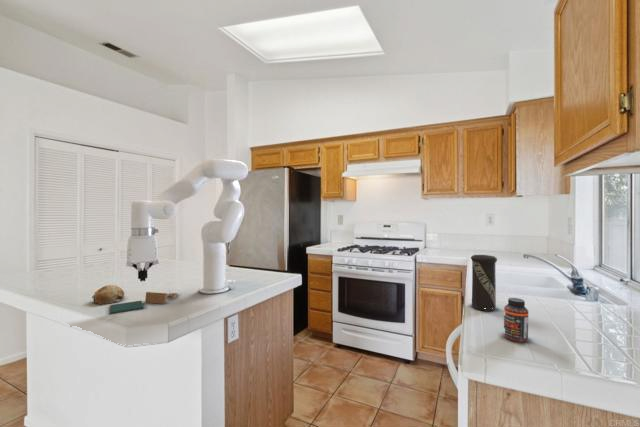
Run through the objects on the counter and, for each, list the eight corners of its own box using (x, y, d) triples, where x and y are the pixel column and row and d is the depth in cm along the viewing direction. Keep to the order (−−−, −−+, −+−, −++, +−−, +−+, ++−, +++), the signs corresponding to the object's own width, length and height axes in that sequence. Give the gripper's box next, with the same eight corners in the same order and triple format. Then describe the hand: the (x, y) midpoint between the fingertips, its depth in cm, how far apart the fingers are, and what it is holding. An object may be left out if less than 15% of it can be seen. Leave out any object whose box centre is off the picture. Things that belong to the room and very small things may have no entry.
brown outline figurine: (164, 303, 119) (184, 299, 130) (165, 293, 119) (185, 289, 131) (145, 302, 121) (166, 297, 132) (146, 292, 121) (167, 288, 133)
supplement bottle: (500, 338, 87) (501, 299, 87) (506, 332, 92) (507, 295, 91) (525, 345, 83) (525, 303, 83) (530, 338, 87) (530, 299, 87)
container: (473, 310, 112) (473, 256, 112) (468, 303, 120) (469, 252, 120) (499, 312, 109) (500, 257, 109) (493, 305, 118) (493, 253, 118)
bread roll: (107, 314, 117) (116, 295, 117) (83, 302, 117) (92, 283, 117) (124, 305, 127) (132, 288, 127) (102, 295, 127) (110, 278, 127)
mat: (141, 302, 121) (141, 300, 121) (143, 308, 113) (143, 307, 113) (110, 306, 115) (110, 304, 115) (110, 313, 107) (110, 312, 107)
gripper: (163, 231, 123) (163, 276, 123) (119, 232, 115) (119, 281, 115) (166, 232, 117) (165, 280, 117) (119, 233, 108) (119, 285, 109)
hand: (142, 280), depth 116 cm, fingers closed
